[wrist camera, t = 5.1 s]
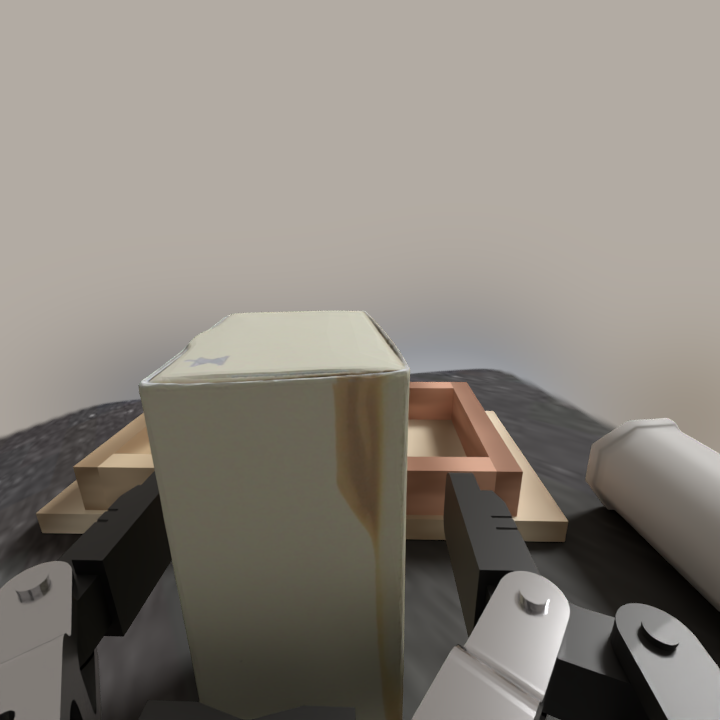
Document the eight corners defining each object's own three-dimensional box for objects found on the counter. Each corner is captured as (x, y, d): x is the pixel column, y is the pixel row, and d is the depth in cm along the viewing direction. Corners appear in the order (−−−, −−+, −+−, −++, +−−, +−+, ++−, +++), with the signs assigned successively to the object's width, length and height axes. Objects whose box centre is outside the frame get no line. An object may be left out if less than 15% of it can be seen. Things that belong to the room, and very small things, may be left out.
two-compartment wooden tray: (42, 532, 19) (21, 470, 18) (164, 423, 31) (156, 380, 30) (564, 542, 19) (577, 476, 17) (491, 425, 30) (496, 380, 29)
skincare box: (405, 841, 9) (426, 374, 6) (224, 872, 9) (116, 389, 5) (371, 604, 16) (370, 302, 12) (261, 615, 15) (224, 307, 11)
